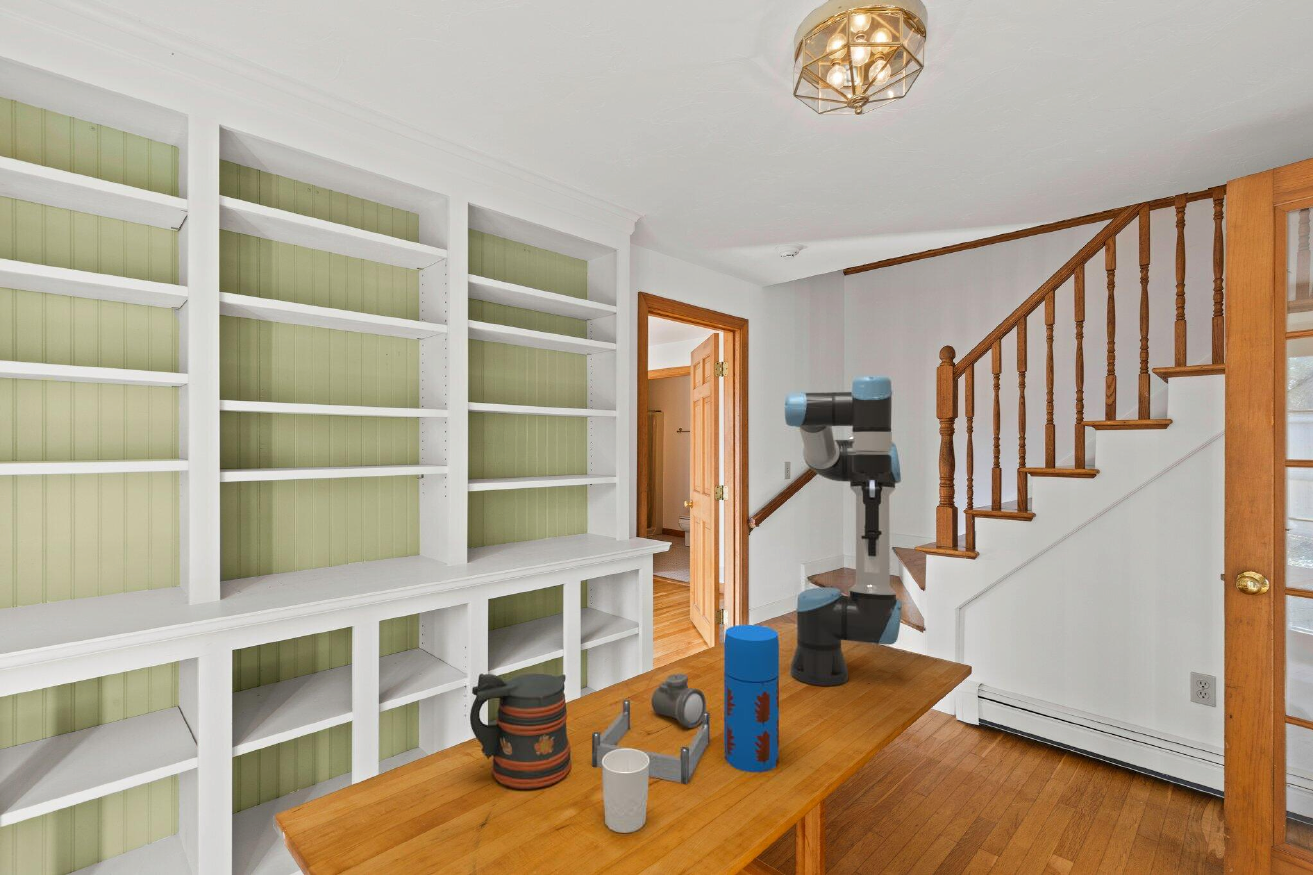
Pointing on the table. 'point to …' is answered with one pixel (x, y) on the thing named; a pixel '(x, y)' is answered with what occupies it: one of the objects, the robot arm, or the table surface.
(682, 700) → the pipe fitting
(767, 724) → the thermos
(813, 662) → the robot arm
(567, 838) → the table surface
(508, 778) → the beer stein
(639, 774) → the white cup
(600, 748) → the grey metal frame
